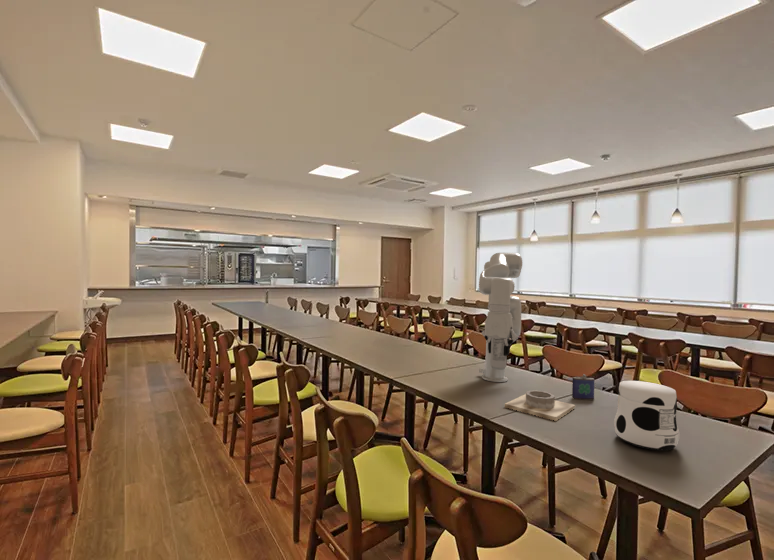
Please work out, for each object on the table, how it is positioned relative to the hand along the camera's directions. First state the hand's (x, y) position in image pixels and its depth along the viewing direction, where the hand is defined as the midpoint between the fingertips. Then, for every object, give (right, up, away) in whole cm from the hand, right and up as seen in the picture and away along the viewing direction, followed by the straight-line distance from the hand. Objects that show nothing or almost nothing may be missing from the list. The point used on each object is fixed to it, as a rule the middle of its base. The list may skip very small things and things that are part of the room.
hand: (498, 353), depth 156 cm
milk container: (+38, -23, -31) cm, 54 cm away
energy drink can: (0, -6, 0) cm, 6 cm away
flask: (+41, -22, +14) cm, 49 cm away
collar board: (+16, -22, 0) cm, 27 cm away
